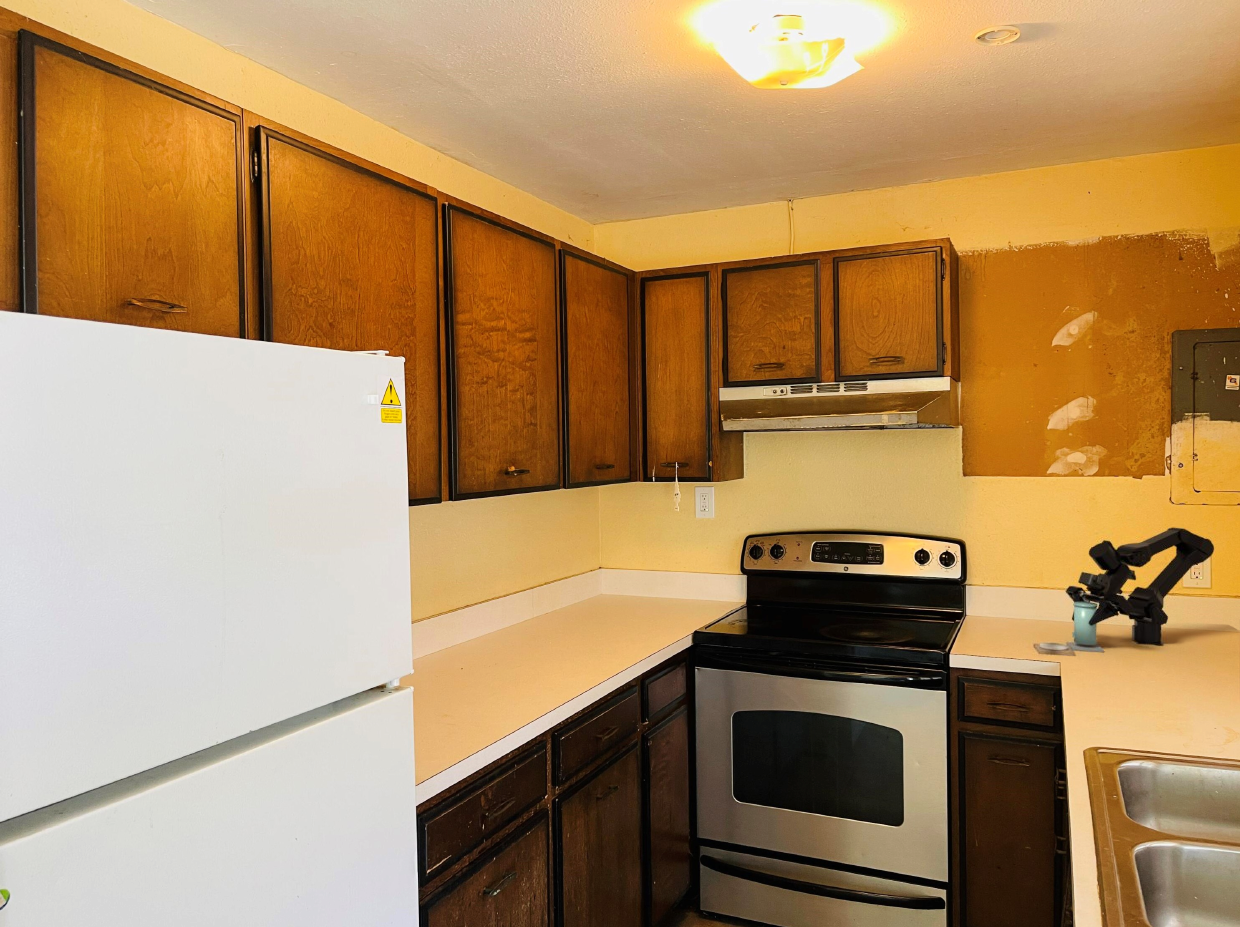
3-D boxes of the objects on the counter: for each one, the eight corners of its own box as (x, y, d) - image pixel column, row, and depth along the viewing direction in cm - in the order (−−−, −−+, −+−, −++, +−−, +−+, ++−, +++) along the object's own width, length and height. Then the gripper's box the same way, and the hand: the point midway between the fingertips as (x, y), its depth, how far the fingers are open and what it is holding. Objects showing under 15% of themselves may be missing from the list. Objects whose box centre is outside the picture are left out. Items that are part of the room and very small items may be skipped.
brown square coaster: (1068, 648, 251) (1068, 642, 251) (1074, 655, 243) (1074, 650, 243) (1033, 646, 254) (1033, 641, 254) (1038, 653, 245) (1038, 648, 245)
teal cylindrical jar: (1094, 640, 254) (1094, 602, 253) (1099, 645, 248) (1099, 605, 248) (1070, 639, 255) (1070, 601, 255) (1074, 644, 250) (1074, 604, 249)
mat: (1097, 645, 254) (1097, 643, 254) (1103, 652, 247) (1103, 650, 247) (1066, 644, 257) (1066, 641, 257) (1072, 650, 249) (1072, 648, 249)
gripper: (1070, 558, 261) (1040, 597, 258) (1124, 566, 243) (1092, 609, 240) (1091, 583, 264) (1061, 623, 261) (1146, 593, 246) (1114, 636, 243)
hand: (1081, 622), depth 251 cm, fingers closed on teal cylindrical jar, 5 cm apart
